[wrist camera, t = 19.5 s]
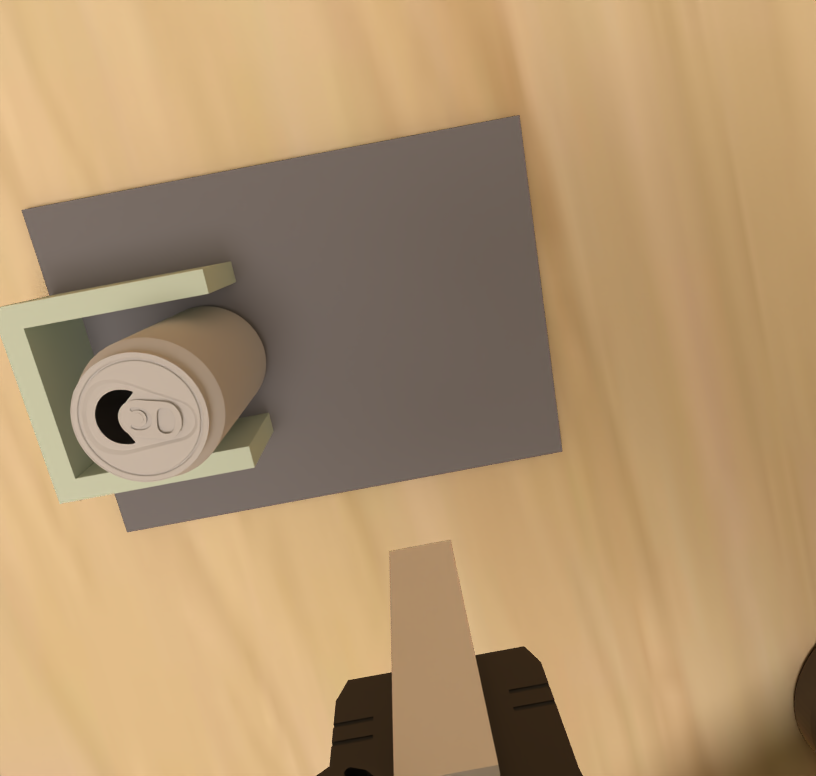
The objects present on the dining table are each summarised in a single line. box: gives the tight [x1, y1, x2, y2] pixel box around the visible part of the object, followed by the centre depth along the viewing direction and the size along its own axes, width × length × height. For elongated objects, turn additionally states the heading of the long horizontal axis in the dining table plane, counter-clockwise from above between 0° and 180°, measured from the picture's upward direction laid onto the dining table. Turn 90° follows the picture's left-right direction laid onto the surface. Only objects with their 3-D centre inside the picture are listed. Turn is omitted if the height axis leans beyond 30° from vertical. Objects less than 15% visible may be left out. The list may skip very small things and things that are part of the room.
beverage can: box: [70, 306, 266, 482], centre depth 32 cm, size 6×6×12 cm
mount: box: [0, 115, 562, 532], centre depth 35 cm, size 20×28×7 cm
